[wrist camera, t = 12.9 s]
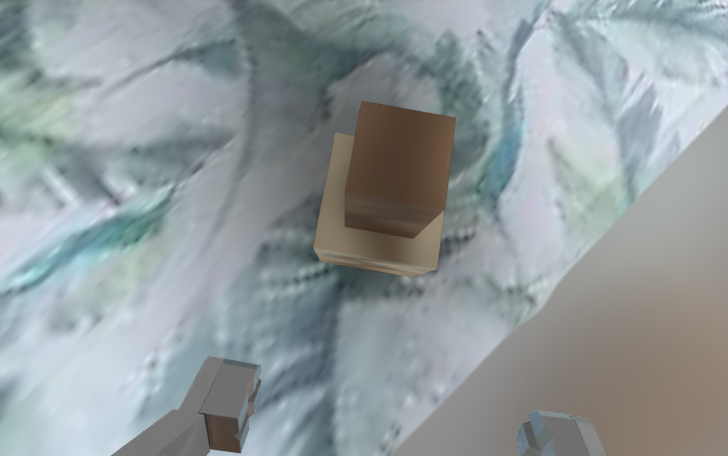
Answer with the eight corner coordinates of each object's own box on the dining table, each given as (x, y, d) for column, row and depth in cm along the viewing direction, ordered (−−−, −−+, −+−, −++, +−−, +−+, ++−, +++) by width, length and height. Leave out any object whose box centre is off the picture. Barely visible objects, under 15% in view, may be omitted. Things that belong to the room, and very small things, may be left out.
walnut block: (344, 226, 23) (344, 192, 16) (356, 161, 24) (361, 101, 17) (413, 238, 23) (445, 209, 16) (422, 173, 24) (456, 117, 17)
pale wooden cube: (320, 261, 31) (312, 247, 23) (337, 173, 32) (335, 132, 25) (413, 277, 31) (437, 269, 23) (425, 189, 33) (451, 153, 25)
